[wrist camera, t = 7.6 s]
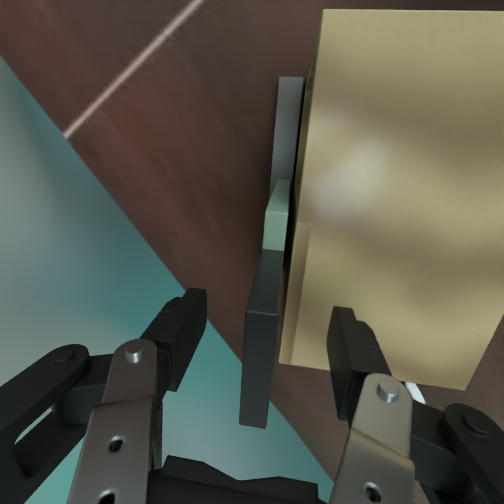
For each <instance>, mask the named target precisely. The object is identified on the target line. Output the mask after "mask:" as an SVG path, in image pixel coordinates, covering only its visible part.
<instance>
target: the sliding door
mask: <svg viewBox="0 0 504 504" xmlns="http://www.w3.org/2000/svg"><path fill="white" fill-rule="evenodd" d="M289 190H290V180H288V179H278V180H277V182H276V185H275V188H274V190H273V193H272V196H271V198H270V201H269V204H268V206H267V209H266V212H265V222H264V235H263V248H262V253H261V256H260V260H259V263H258V267H257V271H256V274H255V278H254V282H253V285H252V289H251V293H250V296H249V300H248V304H247V307H246V311H245V326H244V344H243V361H242V379H241V397H240V414H239V424H240V425H245V426H251V427H257V428H262V429H265V428H266V424H267V416H268V407H269V399H270V390H271V381H272V373H273V364H274V356H275V347H276V338H277V330H278V321H279V311H280V297H281V284H282V271H283V257H284V247H285V238H286V229H287V220H288V207H289Z"/></svg>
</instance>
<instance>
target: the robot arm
mask: <svg viewBox="0 0 504 504" xmlns="http://www.w3.org/2000/svg"><path fill="white" fill-rule="evenodd" d="M206 322H207V293H206V290H205V289H198V288H188V289H187V291H186V292H185V294H184V295H183V297H182V298H181V297H175V298H173V299H172V300H170V301H169V302H167V303H166V304H165V306H164V307H163V308H162V310H161V311H160V312H159V313H158V315H157V316H156V318H155V319H154V320H153V321H152V322H151V324H150V325H149V327H148V328H147V329H146V330H145V332H144V333H143V334H142V336H141V337H140V338H139V339H134V340H131V341H129V342H126V343H124V344H122V345H121V346H120V347H118V348H117V350H116V351H115V353H114V354H106V355H97V356H89V352H88V349H87V348H86V347H85V346H83V345H80V344H70V345H66V346H62V347H59V348H57V349H55V350H53V351H51V352H49V353H48V354H46V355H45V356H44V357H42V358H41V359H39V360H38V361H36V362H35V363H33V364H32V365H31V366H29V367H28V368H26V369H25V370H24V371H22V372H21V373H19V374H18V375H16V376H15V377H14V378H12V379H11V380H9V381H8V382H7V383H5V384H4V385H2V386H1V387H0V504H24V503H25V502H26V501H27V500H28V498H29V497H30V496H31V495H32V494H33V493H34V492H35V491H36V490H37V488H38V487H39V486H40V485H41V484H42V483H43V482H44V480H45V479H46V478H47V477H48V476H49V475H50V474H51V473H52V472H53V470H54V469H55V468H56V467H57V466H58V465H59V464H60V463H61V461H62V460H63V459H64V458H65V457H66V456H67V455H68V454H69V453H70V451H71V450H72V449H73V448H74V447H75V446H76V445H77V444H78V442H79V441H80V440H81V439H82V438H83V437H84V436H85V437H84V441H83V445H82V448H81V452H80V456H79V459H78V463H77V467H76V470H75V474H74V478H73V481H72V485H71V489H70V492H69V496H68V500H67V503H66V504H327V503H326V502H324V501H322V500H320V499H319V498H318V485H317V484H316V483H311V482H306V481H301V480H295V479H290V478H285V477H279V476H278V477H269V478H260V479H251V480H236V479H234V478H232V477H230V476H228V475H226V474H225V473H223V472H221V471H219V470H217V469H215V468H214V467H212V466H210V465H208V464H206V463H204V462H201V461H196V460H191V459H186V458H181V457H176V456H170V455H168V456H167V458H166V461H165V463H164V465H163V468H162V411H163V408H162V406H163V404H162V399H163V397H164V395H165V393H166V391H173V392H176V391H177V389H178V387H179V385H180V383H181V381H182V378H183V376H184V374H185V372H186V370H187V368H188V366H189V363H190V361H191V359H192V357H193V355H194V352H195V350H196V348H197V346H198V344H199V341H200V340H201V337H202V335H203V333H204V331H205V327H206ZM326 347H327V354H328V360H329V366H330V372H331V378H332V385H333V391H334V397H335V403H336V409H337V415H338V420H344V421H348V423H349V428H350V430H349V434H348V437H347V441H346V444H345V448H344V451H343V455H342V458H341V462H340V465H339V469H338V472H337V476H336V479H335V483H334V486H333V490H332V493H331V496H330V500H329V503H328V504H413V503H414V481H415V480H416V481H418V482H419V483H420V485H421V487H422V489H423V491H424V493H425V495H426V497H427V499H428V501H429V503H430V504H504V432H503V431H502V430H501V428H500V427H499V426H498V425H497V424H496V423H495V422H494V421H493V420H492V419H490V418H489V417H488V416H486V415H485V414H484V413H482V412H480V411H479V410H477V409H475V408H473V407H470V406H468V405H464V404H459V403H454V404H450V405H448V406H447V407H446V409H445V411H444V412H443V411H440V410H438V409H435V408H433V407H430V406H428V405H426V404H423V403H421V402H419V401H417V400H415V399H413V398H412V395H411V393H410V391H409V390H408V389H407V388H406V386H405V385H403V384H402V383H401V382H400V381H399V380H397V379H395V378H393V376H392V374H391V371H390V369H389V367H388V364H387V362H386V359H385V357H384V355H383V352H382V350H381V349H380V345H379V343H378V341H377V338H376V336H375V334H374V331H373V330H372V329H371V327H370V326H369V325H368V324H367V323H366V322H365V321H358V320H357V319H356V317H355V314H354V311H353V309H352V308H349V307H341V306H333V309H332V313H331V318H330V323H329V328H328V333H327V341H326ZM50 407H51V409H52V411H51V412H50V413H49V414H48V415H47V416H46V417H45V418H44V419H42V420H41V421H40V423H38V424H37V425H36V426H35V427H34V428H33V429H31V430H30V431H29V433H27V434H26V435H25V436H24V437H23V438H22V439H21V440H19V441H18V442H17V443H16V444H15V441H16V440H17V438H18V437H19V435H20V434H21V433H22V432H23V431H24V430H25V429H26V428H27V427H28V426H29V425H31V424H32V423H33V422H34V421H35V420H36V419H37V418H38V417H40V416H41V415H42V414H43V413H44V412H45V411H46V410H47V409H49V408H50ZM14 444H15V445H14ZM480 492H481V493H480ZM482 495H483V496H484V497H483V496H482ZM484 498H485V499H486V500H485V499H484ZM486 501H487V502H488V503H487V502H486Z"/></svg>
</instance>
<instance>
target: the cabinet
mask: <svg viewBox="0 0 504 504" xmlns="http://www.w3.org/2000/svg"><path fill="white" fill-rule="evenodd" d="M303 82H304V78H303V77H283V76H280V77H279V83H278V95H277V107H276V119H275V132H274V144H273V156H272V168H271V180H270V192H269V201H270V198H271V196H272V193H273V190H274V188H275V185H276V182H277V180H278V179H288V180H290V190H289V206H290V197H291V189H292V180H293V171H294V162H295V153H296V144H297V135H298V127H299V118H300V109H301V100H302V91H303ZM288 215H289V207H288ZM287 224H288V220H287ZM286 233H287V229H286ZM285 242H286V238H285ZM284 251H285V247H284ZM283 259H284V257H283ZM333 306H341V307H349V308H352V309H353V311H354V314H355V317H356V319H357V320H358V321H365V322H366V323H367V324H368V325H369V326H370V327H371V329H372V330H373V331H374V334H375V336H376V338H377V341H378V343H379V345H380V349H381V350H382V352H383V355H384V357H385V359H386V362H387V364H388V367H389V369H390V371H391V374H392V376H393V378H395V379H397V380H399V381H404V382H411V383H418V384H424V385H431V386H438V387H445V388H451V389H458V390H466V388H467V386H468V384H469V382H470V380H471V378H472V376H473V374H474V372H475V370H476V368H477V366H478V364H479V362H480V360H481V358H482V356H483V354H484V352H485V350H486V348H487V346H488V344H489V342H490V340H491V338H492V336H493V334H494V332H495V330H496V328H497V326H498V324H499V322H500V320H501V318H502V316H503V314H504V11H447V10H363V9H324V10H323V11H322V15H321V20H320V25H319V29H318V33H317V37H316V42H315V46H314V50H313V54H312V59H311V63H310V67H309V71H308V76H307V80H306V88H305V97H304V105H303V114H302V122H301V131H300V140H299V148H298V157H297V165H296V174H295V183H294V191H293V200H292V208H291V217H290V226H289V234H288V243H287V251H286V260H285V269H284V282H283V298H282V314H281V330H280V347H279V363H283V364H290V365H296V366H303V367H310V368H317V369H323V370H330V366H329V360H328V354H327V347H326V341H327V333H328V328H329V323H330V318H331V313H332V309H333Z"/></svg>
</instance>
